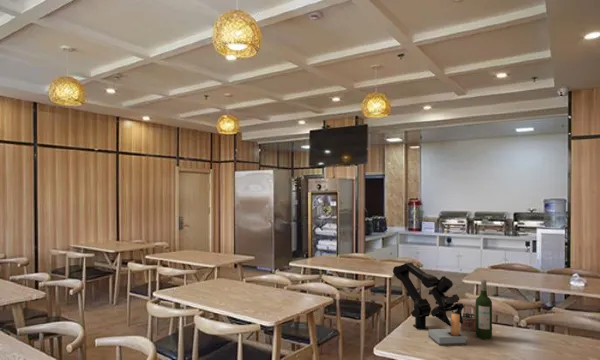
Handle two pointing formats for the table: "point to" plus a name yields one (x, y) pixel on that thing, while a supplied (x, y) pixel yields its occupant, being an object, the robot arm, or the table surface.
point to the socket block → (446, 337)
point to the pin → (455, 324)
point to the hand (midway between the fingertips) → (456, 324)
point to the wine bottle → (483, 314)
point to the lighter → (468, 323)
